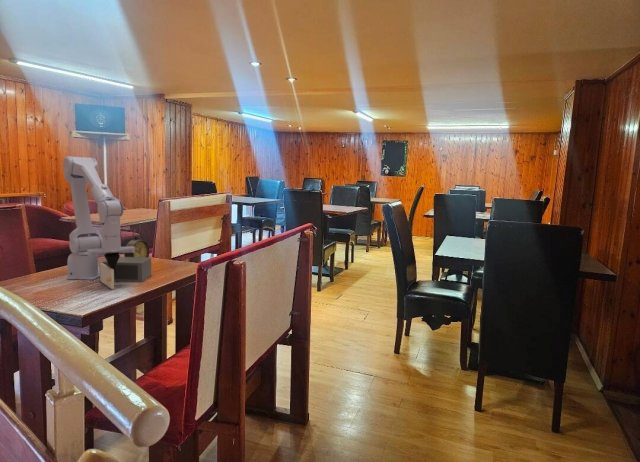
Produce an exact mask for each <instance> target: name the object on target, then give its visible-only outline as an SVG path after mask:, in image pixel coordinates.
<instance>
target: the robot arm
mask: <svg viewBox="0 0 640 462" xmlns="http://www.w3.org/2000/svg"><path fill="white" fill-rule="evenodd" d="M62 161H63V163H62V170H63V177H64V180H65V181H66V182H68V183H69V187H70V193H71V199H72V206H73V212H74V217H75V225H76V228H75V229H73V230H72V231H71V232H70V233H69V235H68V236H69V242H68V243H69V244H68V246H69V250H70V252H71V253H70V254H69V255H68V257H67V261H66V265H67V277H66V279H67V280H93V281H94V280H95V279H98V278H100V272H99V256H104V258H105V260H107V262H108V264H109V267H110V268H112V269H114V275H115V266H116V263H117V261H118V259H119V258H120V257H121V256H120V255H121V254H124V253H129V252H131V253H134V252H135V247H133V246H128V247H126V246H122V245H121V244H122V242H121V241H122V239H121V217H122V216H123V215H124V204H123V202H122V200H120V199H118V198H117V197H115V196H114V195H113V193H112V191H111V190H110V188H109V186H108V185H107V184H103V182H102V181H101V178H100V176H99V173H98V170H99V165H98V161H97V159H96V158H95V157H85V156H83V157H82V156H81V157H80V156H69V155H67V156H65V157H64V159H63V160H62ZM86 184H88V185H89V186H90V188H91V190H90V195H91V196H92V197H93V200H94V201H95V203H96V204H97V214H98V216H99V218H98V219H99V222H100V224H101V231H100V230H99V229H97V228H96V227H94V226H93V224H92V218H91V217H92V216H91V211H90V206H89V200H88V193H87V187H86Z"/></svg>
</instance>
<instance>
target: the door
mask: <svg viewBox="0 0 640 462" xmlns="http://www.w3.org/2000/svg"><path fill="white" fill-rule="evenodd" d="M98 272H99V273H100V276H99V282H101V283H103V284H104V285H105V286H107V287H108V288H109V289H110V290H114V289H115V281H114V269H112V268H110V267H108V266H107V265H105V264H103V263H102V262H98Z"/></svg>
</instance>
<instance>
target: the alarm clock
mask: <svg viewBox="0 0 640 462" xmlns="http://www.w3.org/2000/svg"><path fill="white" fill-rule="evenodd" d="M135 232H137V234H136V235H135ZM132 234H133V237H134V239H131V240H130V241H129V242H127V244H126V245H125V247H128V246H133V247H135V252H134V253H131V252H129V253H123V255H124V256H123V257H145V258H150V247H149V245H148V243H147V241H146V240H144V239H138V236H139V230H138V229H134V230H133V233H132Z"/></svg>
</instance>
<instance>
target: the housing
mask: <svg viewBox="0 0 640 462" xmlns="http://www.w3.org/2000/svg"><path fill="white" fill-rule="evenodd" d="M101 263H103V264H105V265H107V266H108V267H109V264H108V262H107V260H106V259H105V260H103V261H101ZM151 276H152V257H149V258H145V257H125V256H120V258H119V259H118V261H117V263H116V266H115V275H114V282H121V283H122V282H123V283H124V282H126V283H127V282H128V283H143V282H145V280H147V279H148V278H151Z"/></svg>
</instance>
